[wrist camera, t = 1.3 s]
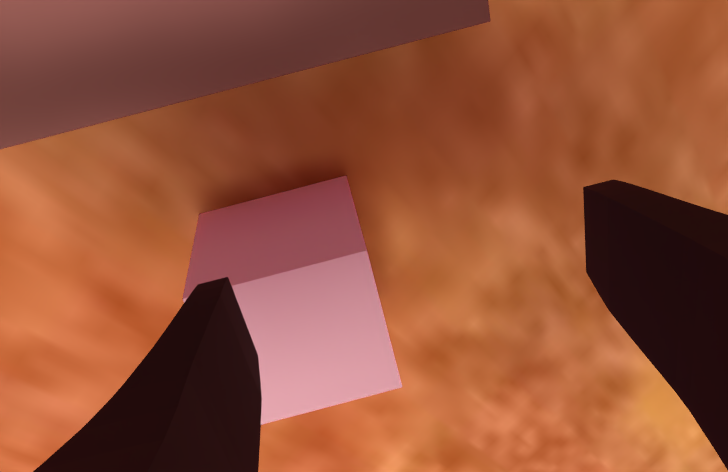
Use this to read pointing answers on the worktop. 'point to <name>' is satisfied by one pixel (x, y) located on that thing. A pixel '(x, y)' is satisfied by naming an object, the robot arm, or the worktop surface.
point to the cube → (301, 295)
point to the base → (183, 50)
